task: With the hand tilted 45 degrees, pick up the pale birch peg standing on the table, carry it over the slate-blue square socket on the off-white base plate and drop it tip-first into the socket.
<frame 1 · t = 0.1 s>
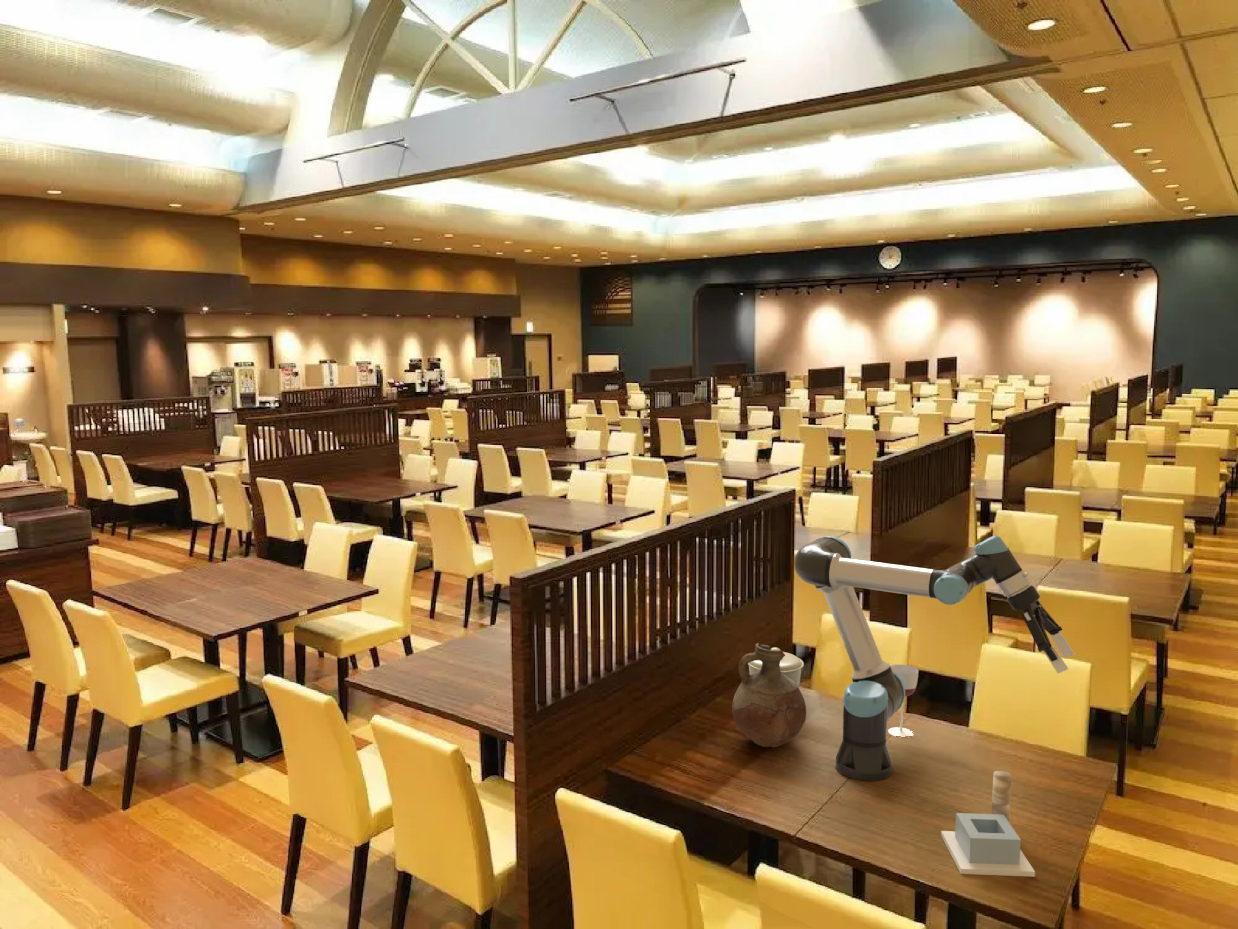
hand: (1066, 663, 233), 36 cm above the table, tool tilted 35°, fingers open, 13 cm apart
socket block: (985, 855, 209), on the table
birch peg: (999, 829, 221), on the table
canister: (774, 711, 292), on the table
jug: (768, 743, 269), on the table
wineglass: (900, 733, 276), on the table
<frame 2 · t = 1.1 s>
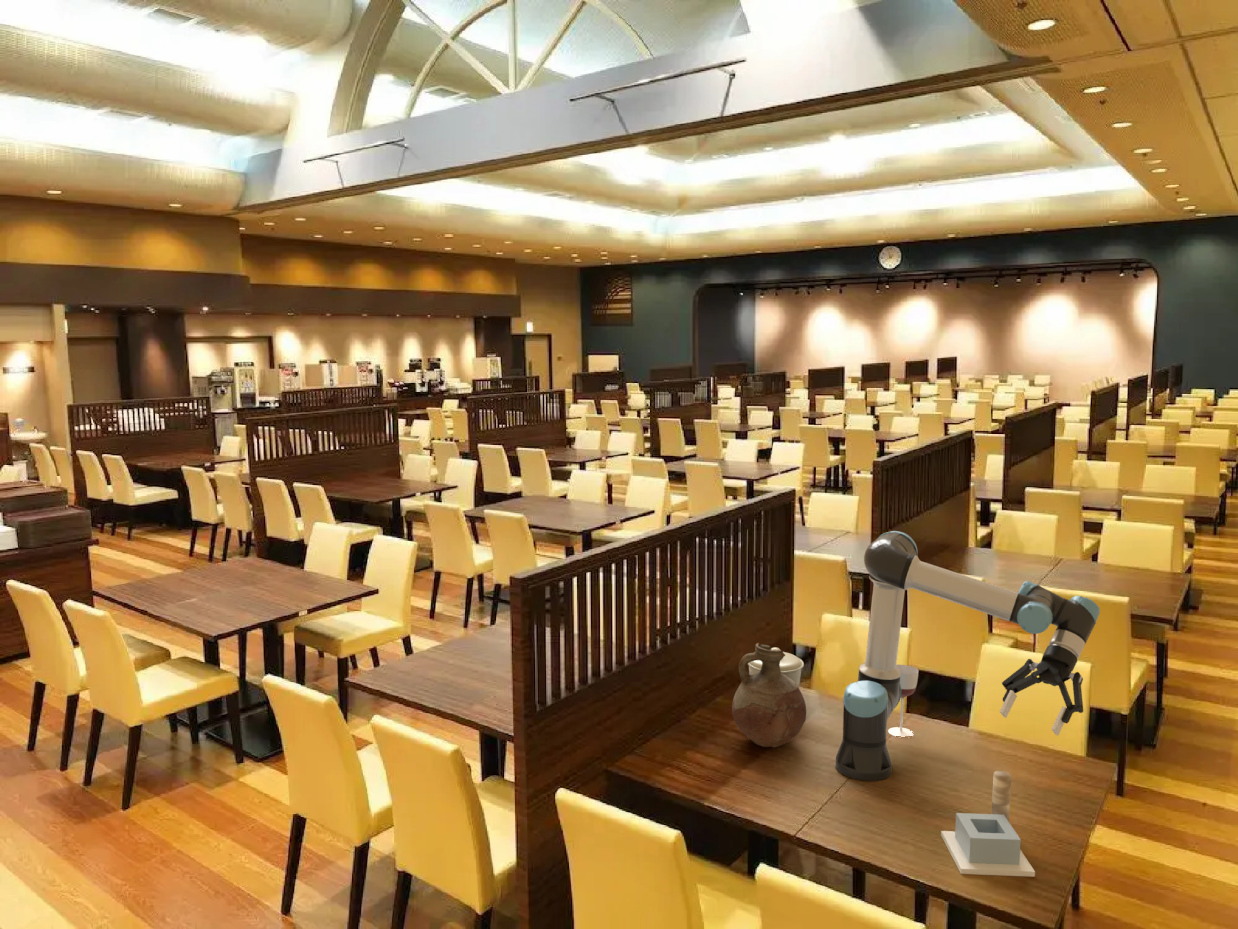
hand: (1028, 723, 224), 24 cm above the table, tool tilted 45°, fingers open, 13 cm apart
nothing on the table moved.
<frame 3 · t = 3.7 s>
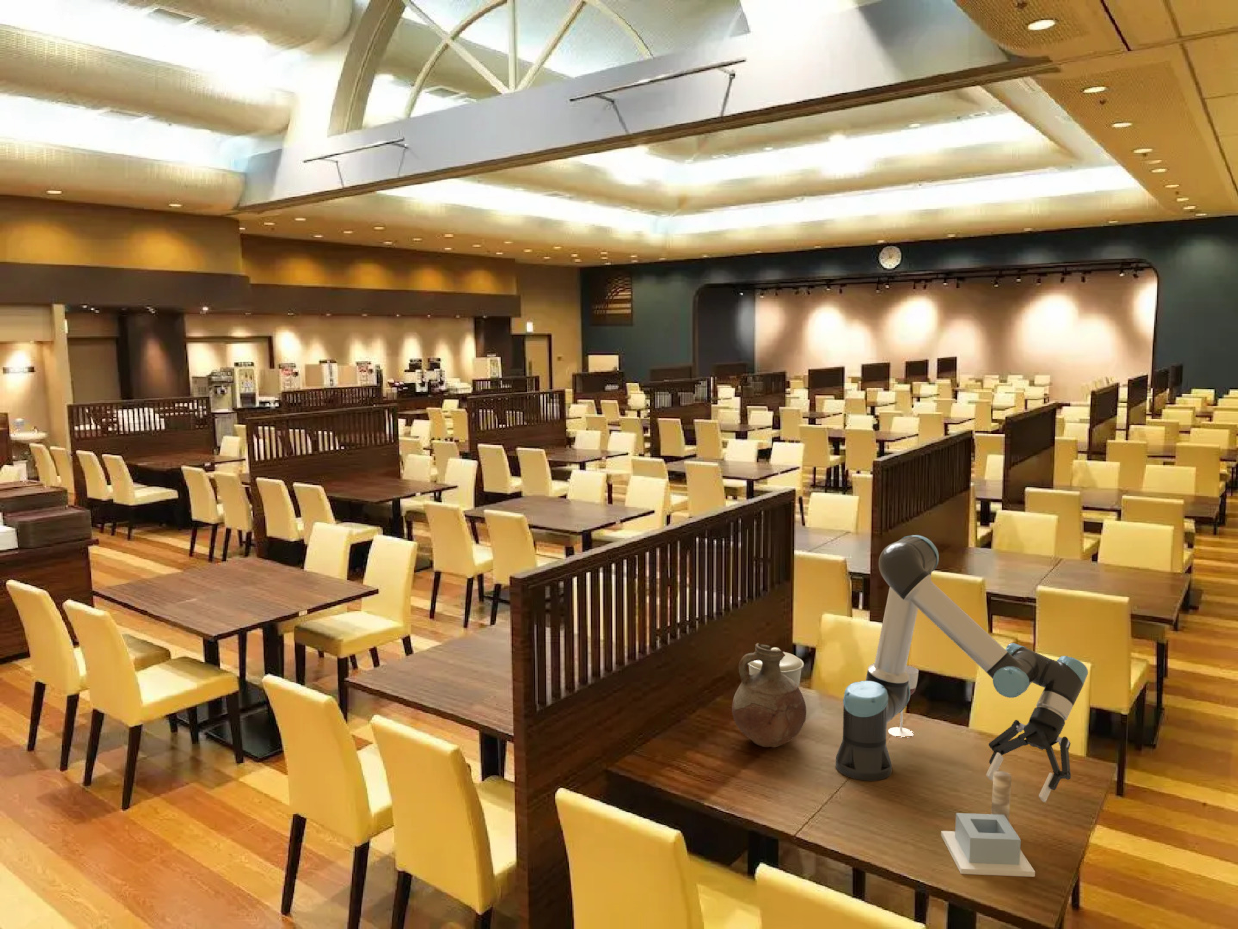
hand: (1014, 788, 220), 10 cm above the table, tool tilted 45°, fingers open, 13 cm apart
nothing on the table moved.
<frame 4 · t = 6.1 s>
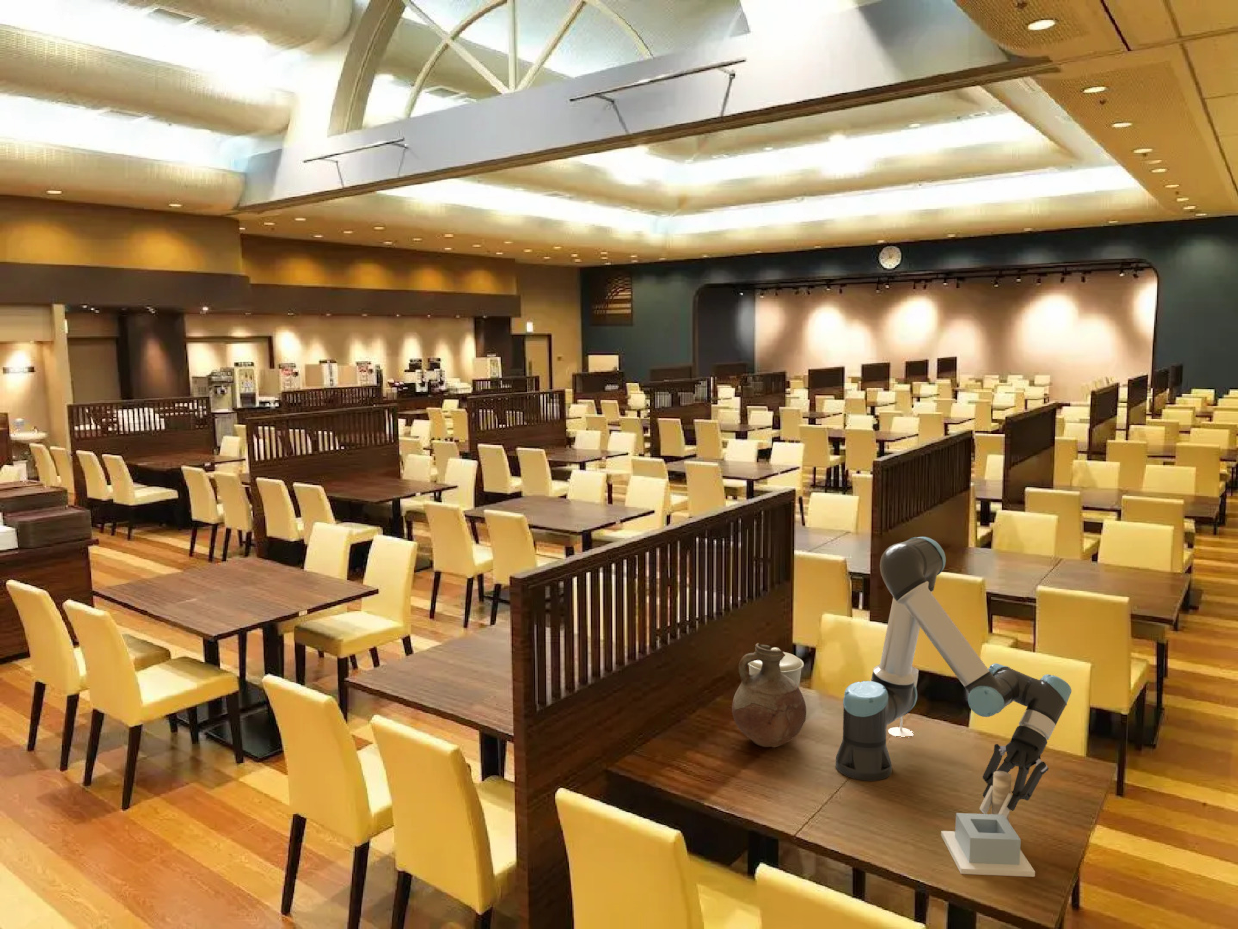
hand: (991, 815, 218), 5 cm above the table, tool tilted 45°, fingers closed on birch peg, 4 cm apart
birch peg: (999, 829, 221), on the table, touching gripper
everything else where it was.
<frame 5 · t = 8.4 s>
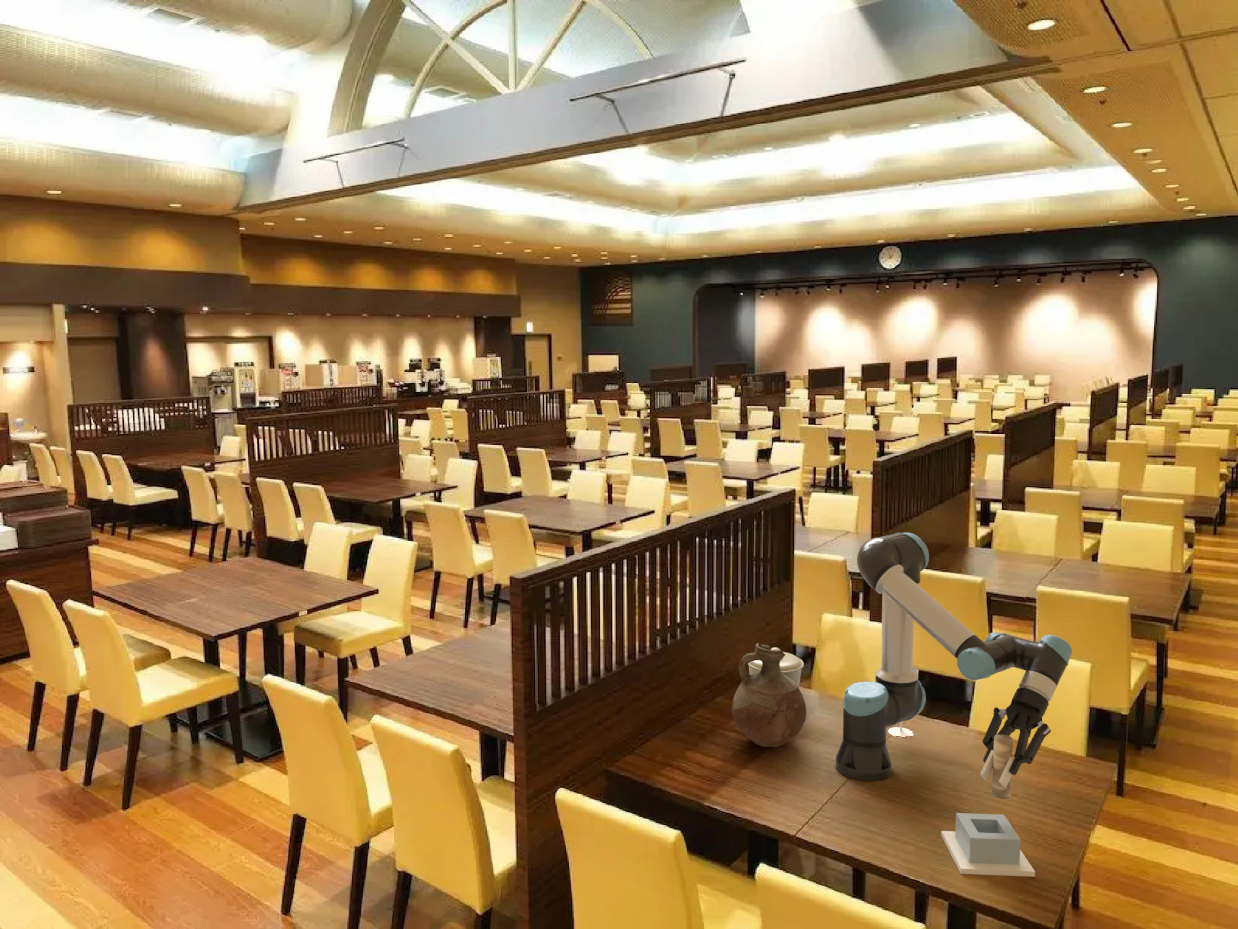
hand: (992, 780, 209), 17 cm above the table, tool tilted 45°, fingers closed on birch peg, 4 cm apart
birch peg: (1000, 794, 212), point 12 cm above the table, touching gripper
everything else where it was.
when the fingers open (10 cm above the table, at t = 10.9 s): birch peg drops 4 cm, resting on socket block.
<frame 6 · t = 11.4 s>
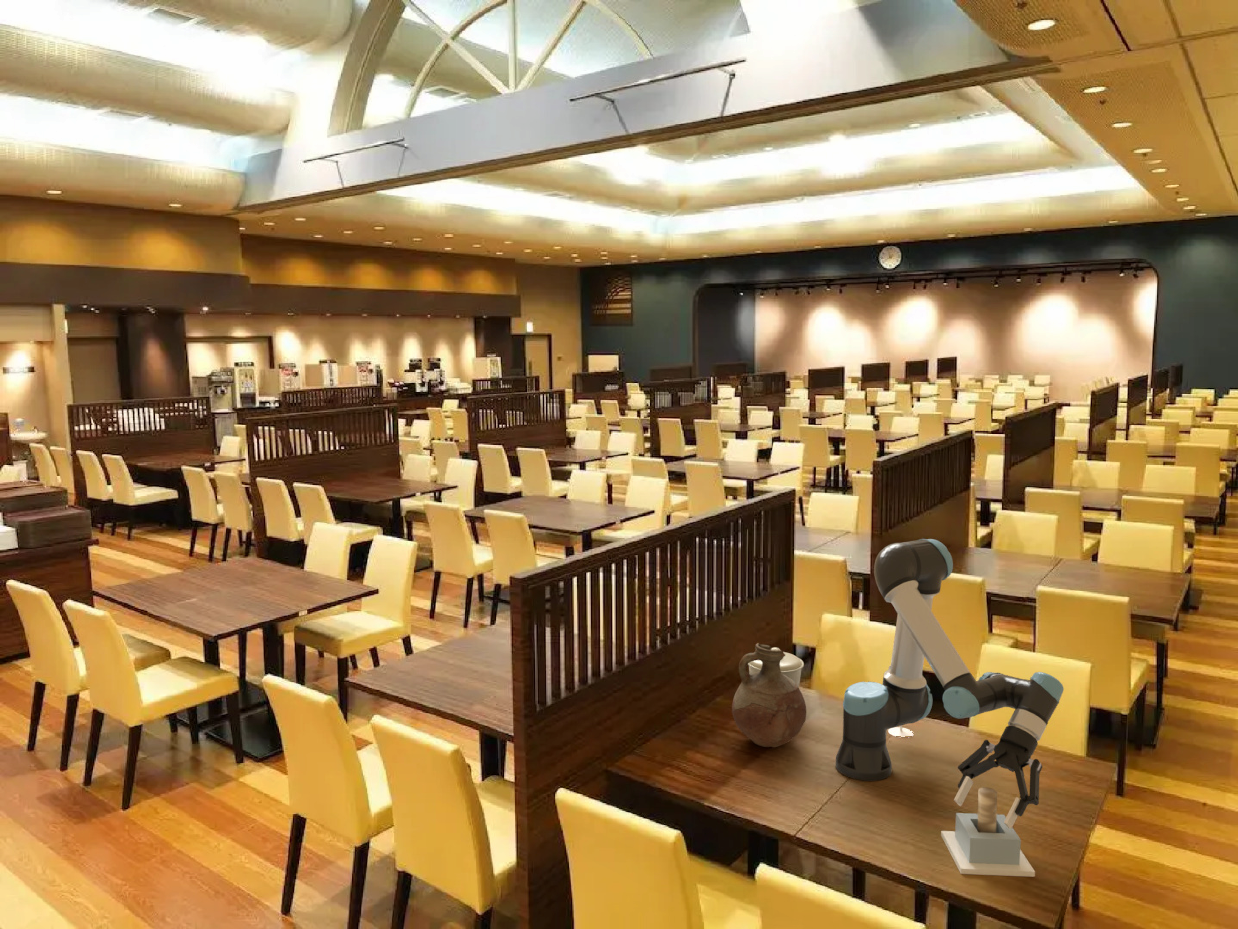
hand: (981, 814, 206), 11 cm above the table, tool tilted 45°, fingers open, 12 cm apart
birch peg: (986, 850, 209), point 1 cm above the table, touching socket block
everything else where it was.
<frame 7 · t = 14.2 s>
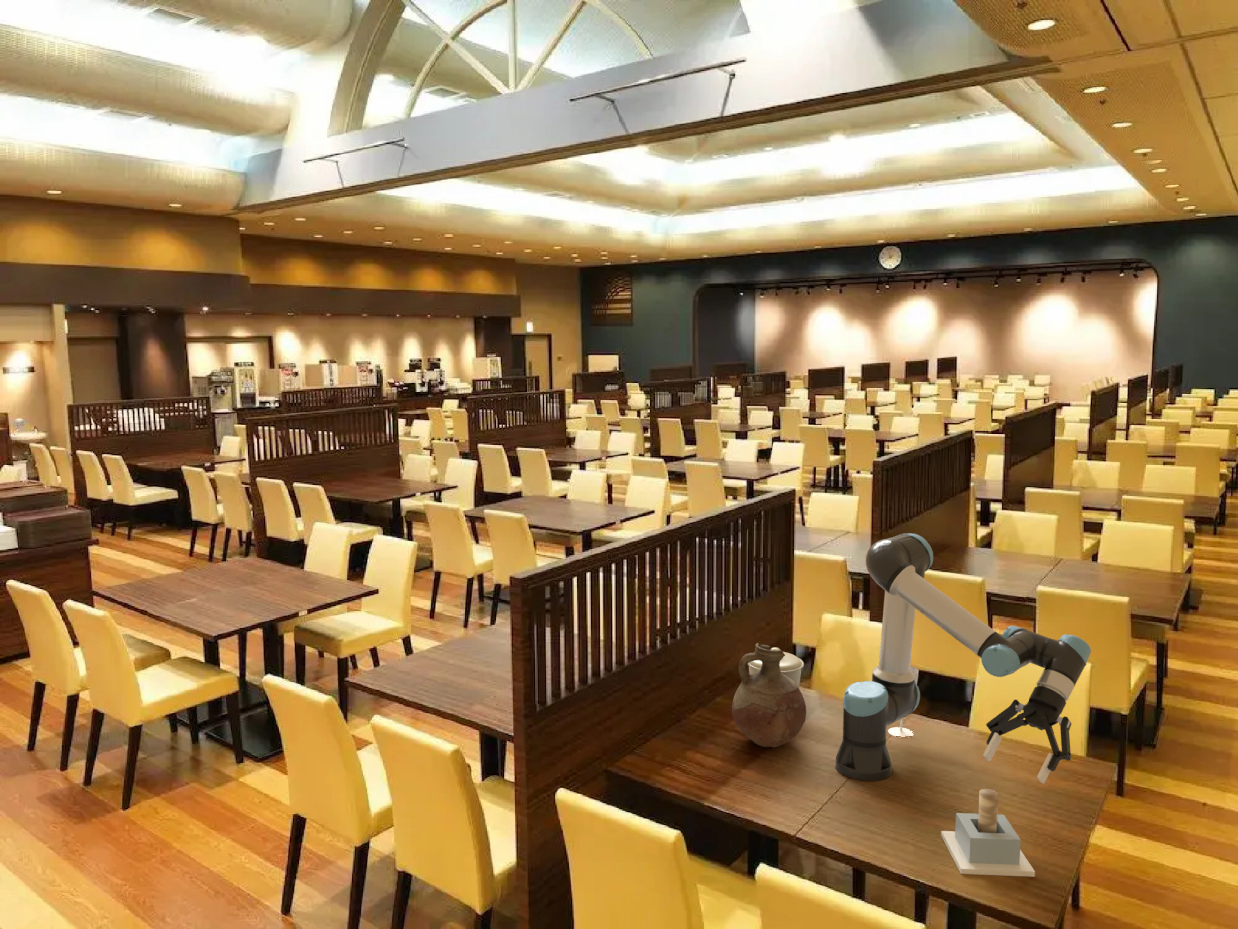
hand: (1012, 769, 212), 18 cm above the table, tool tilted 45°, fingers open, 13 cm apart
nothing on the table moved.
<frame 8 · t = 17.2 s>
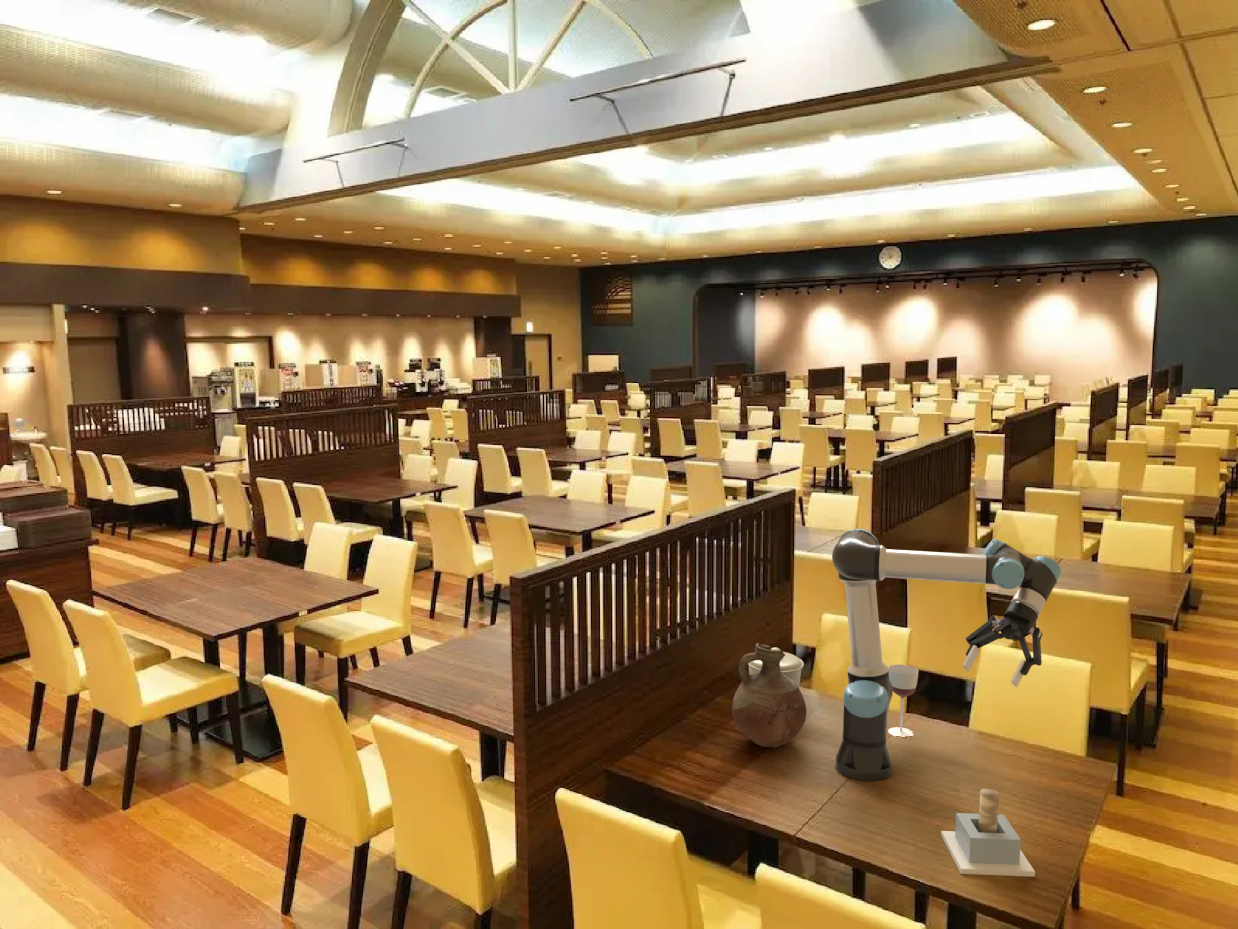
hand: (989, 676, 233), 33 cm above the table, tool tilted 45°, fingers open, 13 cm apart
nothing on the table moved.
at the end: birch peg 0.1 cm off-centre on the socket block, point 1.2 cm above the socket block's base; birch peg tilted 1°; the gripper is holding nothing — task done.
